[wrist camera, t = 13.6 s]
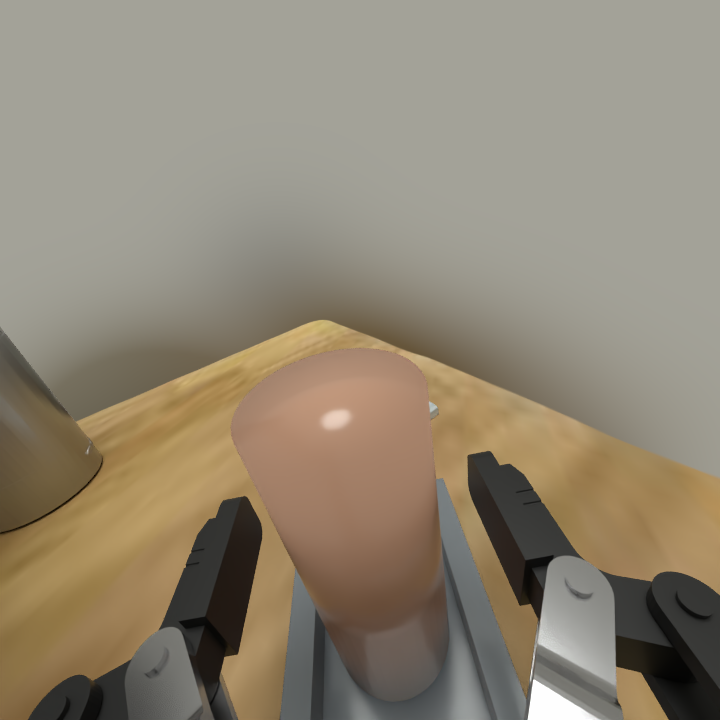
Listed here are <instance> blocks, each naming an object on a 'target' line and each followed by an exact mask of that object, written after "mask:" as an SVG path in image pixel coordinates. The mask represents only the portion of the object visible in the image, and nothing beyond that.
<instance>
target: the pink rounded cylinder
mask: <svg viewBox="0 0 720 720" xmlns="http://www.w3.org/2000/svg"><path fill="white" fill-rule="evenodd" d="M231 436H232V439H233V442H234V445H235V447H236V449H237V451H238V453H239V455H240V457H241V459H242V461H243V463H244V465H245V467H246V469H247V471H248V473H249V475H250V477H251V479H252V481H253V483H254V485H255V487H256V489H257V491H258V493H259V495H260V497H261V499H262V501H263V503H264V505H265V507H266V509H267V511H268V513H269V515H270V517H271V519H272V521H273V524H274V526H275V528H276V530H277V532H278V534H279V536H280V538H281V540H282V542H283V544H284V546H285V548H286V550H287V552H288V554H289V556H290V558H291V560H292V562H293V564H294V566H295V568H296V570H297V572H298V574H299V576H300V578H301V580H302V582H303V584H304V586H305V588H306V590H307V592H308V594H309V596H310V598H311V600H312V602H313V604H314V606H315V608H316V610H317V612H318V614H319V616H320V618H321V620H322V622H323V624H324V626H325V628H326V630H327V632H328V634H329V636H330V638H331V640H332V642H333V644H334V646H335V649H336V651H337V653H338V655H339V657H340V659H341V661H342V663H343V665H344V667H345V668H346V670H347V672H348V674H349V675H350V677H351V678H352V679H353V681H354V682H355V683H356V684H357V685H358V686H359V687H360V688H361V689H362V690H364V691H365V692H366V693H368V694H369V695H371V696H373V697H375V698H377V699H381V700H384V701H391V702H396V701H404V700H408V699H411V698H413V697H415V696H417V695H419V694H420V693H422V692H423V691H425V690H426V689H427V688H428V687H429V686H430V685H431V684H432V683H433V682H434V680H435V679H436V678H437V676H438V674H439V673H440V671H441V669H442V667H443V664H444V662H445V659H446V655H447V651H448V646H449V620H448V609H447V598H446V586H445V575H444V564H443V553H442V542H441V530H440V519H439V508H438V497H437V486H436V475H435V463H434V452H433V441H432V430H431V419H430V408H429V396H428V386H427V381H426V378H425V376H424V374H423V373H422V371H421V370H420V369H419V368H418V366H417V365H416V364H414V363H413V362H412V361H410V360H409V359H407V358H405V357H403V356H401V355H398V354H396V353H392V352H389V351H384V350H379V349H369V348H352V349H341V350H334V351H329V352H324V353H320V354H316V355H313V356H310V357H307V358H304V359H301V360H299V361H296V362H294V363H291V364H289V365H287V366H285V367H283V368H281V369H279V370H278V371H276V372H274V373H272V374H271V375H269V376H268V377H266V378H265V379H264V380H262V381H261V382H260V383H258V384H257V385H256V386H255V387H254V388H253V389H252V390H251V391H250V392H249V393H248V394H247V395H246V396H245V397H244V398H243V400H242V401H241V402H240V404H239V405H238V407H237V409H236V411H235V413H234V416H233V419H232V424H231Z"/></svg>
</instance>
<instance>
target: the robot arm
mask: <svg viewBox="0 0 720 720" xmlns="http://www.w3.org/2000/svg"><path fill="white" fill-rule="evenodd" d="M101 462H102V456H101V454H100V453H99V451H98V450H97V449H96V448H95V446H94V445H93V443H92V441H91V440H90V439H89V438H88V437H87V436H86V435H85V434H84V432H83V431H82V430H81V429H80V427H79V426H78V425H77V423H76V422H75V421H74V420H73V418H72V417H71V416H70V415H69V413H68V412H67V411H66V410H65V408H64V407H63V406H62V404H61V403H60V402H59V401H58V399H57V398H56V397H55V396H54V394H53V393H52V392H51V391H50V389H49V388H48V387H47V386H46V384H45V383H44V382H43V380H42V379H41V378H40V377H39V375H38V374H37V373H36V372H35V370H34V369H33V368H32V367H31V365H30V364H29V363H28V362H27V361H26V359H25V358H24V357H23V355H22V354H21V353H20V351H19V350H18V349H17V348H16V346H15V345H14V344H13V343H12V341H11V340H10V339H9V338H8V336H7V335H6V334H5V333H4V332H3V330H2V329H1V328H0V532H4V531H8V530H12V529H14V528H17V527H20V526H23V525H25V524H27V523H29V522H31V521H34V520H36V519H38V518H40V517H41V516H43V515H45V514H47V513H49V512H50V511H52V510H54V509H55V508H57V507H58V506H60V505H61V504H63V503H64V502H66V501H67V500H68V499H69V498H71V497H72V496H73V495H75V494H76V493H77V492H78V491H79V490H80V489H82V488H83V487H84V486H85V485H86V484H87V483H88V482H89V481H90V480H91V478H92V477H93V476H94V475H95V474H96V472H97V471H98V469H99V468H100V465H101ZM468 486H469V491H470V494H471V498H472V500H473V503H474V505H475V507H476V509H477V512H478V514H479V516H480V518H481V521H482V523H483V525H484V527H485V529H486V532H487V534H488V536H489V538H490V540H491V543H492V545H493V547H494V549H495V552H496V554H497V556H498V558H499V560H500V563H501V565H502V567H503V569H504V572H505V574H506V576H507V578H508V580H509V583H510V585H511V587H512V589H513V592H514V594H515V596H516V598H517V600H518V603H519V605H520V606H521V605H527V604H531V605H532V607H533V609H534V612H535V614H536V616H537V618H538V622H537V630H536V637H535V644H534V651H533V659H532V666H531V673H530V680H529V688H528V695H527V701H526V708H525V714H524V720H623V713H622V709H621V706H620V704H619V703H618V699H617V692H616V667H620V668H624V669H629V670H633V671H637V672H641V673H642V675H643V677H644V678H645V680H646V682H647V683H648V685H649V687H650V688H651V690H652V692H653V694H654V695H655V697H656V699H657V700H658V702H659V704H660V705H661V707H662V709H663V710H664V712H665V714H666V716H667V717H668V719H669V720H720V595H719V594H717V593H716V592H715V591H714V590H713V589H711V588H710V587H709V586H707V585H706V584H704V583H702V582H701V581H699V580H697V579H695V578H693V577H691V576H688V575H685V574H682V573H678V572H663V573H660V574H658V575H657V576H655V577H654V579H653V581H652V582H651V581H645V580H639V579H633V578H627V577H621V576H615V575H611V574H608V573H605V572H603V571H601V570H599V569H597V568H596V567H594V566H593V565H592V564H590V563H588V562H587V561H585V560H584V559H583V558H582V557H581V556H580V555H579V554H578V553H577V552H576V551H575V549H574V548H573V547H572V545H571V544H570V542H569V541H568V539H567V538H566V536H565V535H564V533H563V532H562V530H561V529H560V527H559V526H558V524H557V523H556V522H555V520H554V519H553V517H552V516H551V514H550V513H549V511H548V510H547V508H546V507H545V505H544V504H543V503H542V502H541V499H540V498H539V496H538V495H537V493H536V492H535V491H534V490H533V487H532V486H531V484H530V483H529V481H528V480H527V478H526V477H525V476H524V474H522V473H521V472H520V471H519V470H517V469H516V468H515V467H513V466H512V465H511V464H506V465H499V464H498V462H497V460H496V459H495V457H494V455H493V454H492V453H491V452H490V451H486V452H481V453H476V454H470V455H468ZM261 541H262V526H261V522H260V520H259V518H258V516H257V514H256V513H255V511H254V509H253V507H252V505H251V503H250V501H249V499H248V498H247V497H246V496H243V497H238V498H233V499H227V500H224V501H223V502H222V503H221V505H220V507H219V510H218V513H217V516H216V518H213V519H209V520H208V521H207V523H206V524H205V525H204V527H203V528H202V529H201V531H200V532H199V533H198V535H197V538H196V540H195V543H194V545H193V548H192V550H191V554H190V555H189V558H188V560H187V563H186V568H184V570H183V573H182V575H181V578H180V580H179V583H178V585H177V588H176V590H175V593H174V595H173V598H172V600H171V603H170V605H169V608H168V610H167V613H166V615H165V618H164V620H163V623H162V625H161V627H160V629H159V630H158V631H157V632H155V633H154V634H153V635H151V636H150V637H149V638H148V639H147V640H146V641H145V642H144V643H143V644H142V645H141V646H140V648H139V649H138V650H137V652H136V653H135V655H134V656H133V658H132V659H131V660H130V661H128V662H126V663H124V664H123V665H121V666H119V667H117V668H115V669H114V670H112V671H110V672H108V673H106V674H105V675H103V676H101V677H99V678H97V679H95V680H94V681H92V680H91V679H89V678H88V677H86V676H84V675H75V676H72V677H70V678H68V679H66V680H64V681H63V682H61V683H60V684H58V685H57V686H56V687H55V688H53V689H52V690H51V691H50V692H49V693H48V694H47V695H46V696H45V697H44V698H43V699H42V700H41V702H40V703H39V704H38V705H37V707H36V708H35V709H34V711H33V712H32V714H31V715H30V717H29V719H28V720H238V718H237V715H236V712H235V709H234V707H233V704H232V701H231V698H230V695H229V692H228V689H227V687H226V684H225V681H224V678H223V675H222V673H221V669H222V665H223V660H224V657H226V656H231V655H237V654H238V652H239V647H240V642H241V637H242V632H243V627H244V623H245V618H246V613H247V608H248V603H249V599H250V594H251V589H252V584H253V579H254V574H255V570H256V565H257V560H258V555H259V550H260V546H261Z"/></svg>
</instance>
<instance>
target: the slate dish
mask: <svg viewBox="0 0 720 720" xmlns="http://www.w3.org/2000/svg"><path fill="white" fill-rule="evenodd" d="M436 486H437V497H438V508H439V519H440V530H441V542H442V553H443V564H444V575H445V586H446V598H447V609H448V620H449V646H448V651H447V655H446V659H445V662H444V664H443V667H442V669H441V671H440V673H439V674H438V676H437V678H436V679H435V680H434V682H433V683H432V684H431V685H430V686H429V687H428V688H427V689H426V690H425V691H423V692H422V693H420V694H419V695H417V696H415V697H413V698H411V699H408V700H404V701H396V702H391V701H384V700H381V699H377V698H375V697H373V696H371V695H369V694H368V693H366V692H365V691H364V690H362V689H361V688H360V687H359V686H358V685H357V684H356V683H355V682H354V681H353V679H352V678H351V677H350V675H349V674H348V672H347V670H346V668H345V667H344V665H343V663H342V661H341V659H340V657H339V655H338V653H337V651H336V649H335V646H334V644H333V642H332V640H331V638H330V636H329V634H328V632H327V630H326V628H325V626H324V624H323V622H322V620H321V618H320V616H319V614H318V612H317V610H316V608H315V606H314V604H313V602H312V600H311V598H310V596H309V594H308V592H307V590H306V588H305V586H304V584H303V582H302V580H301V578H300V576H299V574H298V572H297V570H296V568H295V578H294V588H293V597H292V607H291V617H290V626H289V636H288V646H287V655H286V665H285V675H284V685H283V694H282V704H281V714H280V720H524V714H525V708H526V701H527V700H526V698H525V695H524V692H523V690H522V687H521V684H520V682H519V679H518V676H517V674H516V671H515V668H514V666H513V663H512V660H511V658H510V655H509V653H508V650H507V647H506V645H505V642H504V639H503V637H502V634H501V631H500V629H499V626H498V623H497V621H496V618H495V615H494V613H493V610H492V607H491V605H490V602H489V599H488V597H487V594H486V591H485V589H484V586H483V584H482V581H481V578H480V576H479V573H478V570H477V568H476V565H475V562H474V560H473V557H472V554H471V552H470V549H469V546H468V544H467V541H466V538H465V536H464V533H463V530H462V528H461V525H460V522H459V520H458V517H457V515H456V512H455V509H454V507H453V504H452V501H451V499H450V496H449V493H448V491H447V488H446V485H445V483H444V480H443V478H442V479H436Z"/></svg>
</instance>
